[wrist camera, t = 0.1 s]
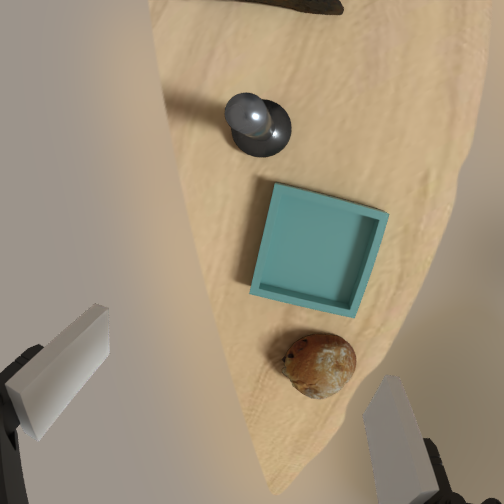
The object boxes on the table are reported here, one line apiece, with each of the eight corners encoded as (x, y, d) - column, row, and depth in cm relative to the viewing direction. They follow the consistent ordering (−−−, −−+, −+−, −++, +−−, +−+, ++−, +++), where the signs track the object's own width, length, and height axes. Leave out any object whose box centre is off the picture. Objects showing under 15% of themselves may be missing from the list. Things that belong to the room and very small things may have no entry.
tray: (275, 181, 38) (274, 183, 36) (384, 210, 38) (389, 214, 35) (251, 286, 43) (249, 293, 40) (351, 310, 42) (354, 318, 40)
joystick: (240, 96, 36) (211, 64, 22) (296, 108, 35) (299, 79, 22) (228, 150, 38) (192, 147, 24) (284, 163, 38) (280, 165, 24)
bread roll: (322, 374, 50) (345, 408, 43) (268, 375, 46) (287, 414, 39) (348, 326, 47) (377, 358, 40) (292, 322, 43) (318, 360, 36)
